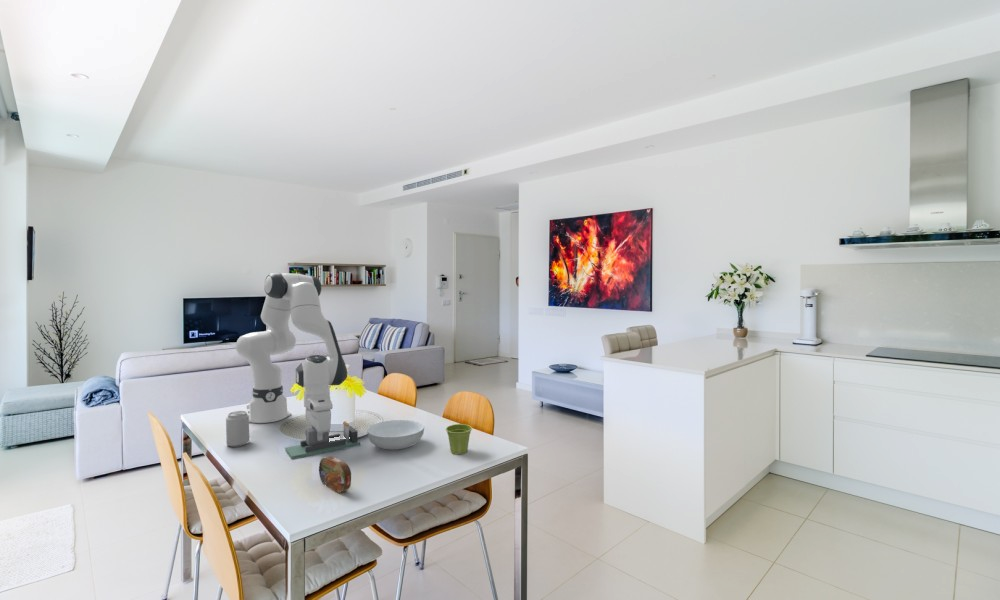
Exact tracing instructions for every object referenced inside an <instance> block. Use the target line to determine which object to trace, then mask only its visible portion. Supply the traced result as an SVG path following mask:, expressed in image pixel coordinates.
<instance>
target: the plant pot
mask: <svg viewBox="0 0 1000 600" xmlns="http://www.w3.org/2000/svg"><path fill="white" fill-rule="evenodd" d="M472 430H473V427H472V426H471V425H470V424H469V425H468V424H464V423H463V424H461V423H459V424H458V423H456V424H452V425H448V426H447V427H445V431H446V433H447V436H448V442H449V449H450V453H451V454H454V455H460V454H462V455H463V454H466V453H468V449H469V442H470V435H471V432H472Z"/></svg>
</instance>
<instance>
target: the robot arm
mask: <svg viewBox="0 0 1000 600" xmlns="http://www.w3.org/2000/svg"><path fill="white" fill-rule="evenodd" d="M263 285H264V287H263V288H264V292H265V294H266V296H265V300H264V303H263V306H262V310H261V313H260V319H261V321H262V323H263V324H264V325H265V326H267V329H266V330H264V331H254V332H249V333H245V334H244V335H240V336H239V338H237V340H236V344H235V349H236V351H237V352H236V353H237V354H238V355H239V356H240V357H241V358H243V359H244V360H246V361H247V363H248V364H249V365H250V368H251V370H252V379H253V387H252V391H251V392H252V393H251V394H252V398H251V400H250V401H249V403H247V404H246V410H247V411H246V412H247V414H248V415H249V423H254V424H264V423H265V424H266V423H275V422H278V421H281V420H284V419H285V418H287V417H290V416H291V415H292V412H291V411H288V402H287V397H286V396H284V394H283V393H284V387H283V384H282V369H281V367H280V365H277V364H276V363H273V362H272V360H271V356H276V355H282V354H285V353H288V352H290V351H292V350H293V349H294V348H295V346H296V344H297V343H296V342H297V341H296V336H295V334H294V332H293V331H291V330H290V327H289V322H290V318H291V323H292V324H293V326H294V327H295V328H296V329H298V330H300V331H302V332H303V333H306V334H311V335H314V336H316V337H319V338H321V339H322V340H323V342H324V344H325V346H326V350H327V354H328V358H329V359H328V358H327V356H325V355H319V354H314V355H309V356H307V357H306V358H305V360H304V362H301V363H300V364H299V365H298V366H296V368H295V384H297V385H298V386H300V387H302V388H304V390H303V407H305V419H306V421H307V422H308V423H309V424H310V428H315V429H316V430H317V435H316V439H317V440H318V441H320V440H322V439H323V433H324V432H328V431H329V432H330V430H331V427H332V426H331V425H332V411H331V410H333V407H334V406H333V401H332V400H331V392H330V391H331V390H330V386H340V385H341V384H343V383H344V382H345V381H346V380H347V377H348V368H347V366H346V362H345V360H344V358H343V355H342V353H341V352H342V351H341V349H340V345H339V343H338V339H337V335H336V333H335V330H334V327H333V325H332V322H331V321H330V320H328V319H326V318H325V316H324V315H323V312H322V308H321V301H320V298H319V297H320V295H321V292H322V283H321V280H320V279H319V278H318V277H316V276H313V275H306V274H301V273H290V272H289V273H288V272H287V273H285V272H278V271H276V272H271V273H269V274H268V275H267V276H266V278H265V279H264V284H263Z"/></svg>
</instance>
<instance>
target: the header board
mask: <svg viewBox="0 0 1000 600" xmlns="http://www.w3.org/2000/svg"><path fill="white" fill-rule="evenodd" d="M342 424H343V426H342V428H343V431H342V432H343V436H344V437H345V438H346V439H340V440H335V441H330V442H325V443H320V444H315V445H310V446H309V445H308V444H307V443H306V439H305V440H303V439H302V440H300V444H298V445H292V446H287V447H284V449H285V450H284V451H285V452H286V454H287V455H288V457H289V458H290V459H291V460H295V459H301V458H304V457H310V456H314V455H319V454H323V453H329V452H333V451H338V450H343V449H347V448H352V447H357V446H360V445H361V442H360V441H359V437H358V433H359V432H358V430H357V429H355V428H354V427H353V426H352V425H350V424H349V423H348V422H347V421H343V422H342ZM339 436H340V437H341V434H340V433H335V434H331V435H330V434H329V438H334V437H339ZM349 437H350V439H349Z"/></svg>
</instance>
